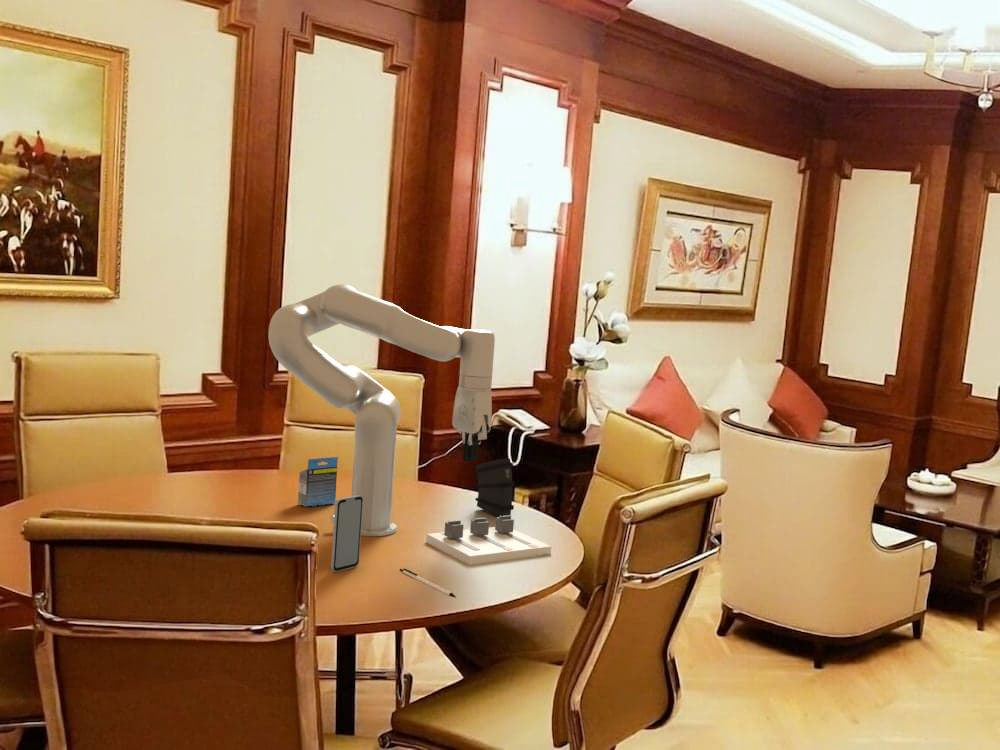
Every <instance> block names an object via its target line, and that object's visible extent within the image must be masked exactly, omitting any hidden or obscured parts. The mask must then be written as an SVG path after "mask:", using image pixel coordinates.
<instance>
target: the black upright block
mask: <svg viewBox="0 0 1000 750" xmlns="http://www.w3.org/2000/svg"><path fill="white" fill-rule="evenodd" d="M475 466H476V469H474V472H475V473H477V479H478V484H475V486H476V487H475V488H477V489H478V491H477V492H478V494H477V497H475V498H474V499H475V501H476V502H477V503H476V506H477V508H479V509H481V510H483V511H485V512H486V513H488V514H490V515H492V516H494V517H495V518H496V517H499V516H507V515H510V516H511V517H512V515H511V514H512V511H513V510H514V508H515V506H514V504H513V487H515V485H516V484H515V482H514V481H513V471H512V467H513V466H514V463H513V462H511V458H510V457H509V458H499V459H495V460H492V461H491V460H490V461H487V462H483V463H479V464H476V465H475Z"/></svg>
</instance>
